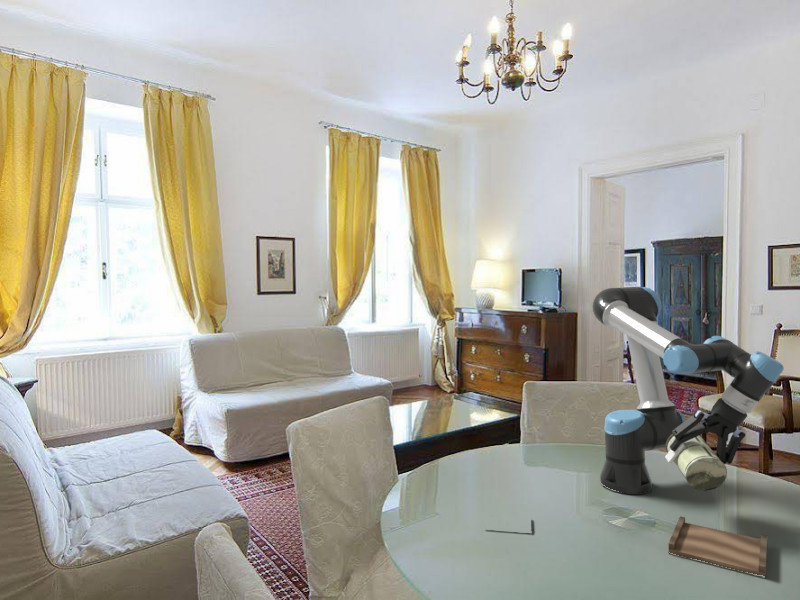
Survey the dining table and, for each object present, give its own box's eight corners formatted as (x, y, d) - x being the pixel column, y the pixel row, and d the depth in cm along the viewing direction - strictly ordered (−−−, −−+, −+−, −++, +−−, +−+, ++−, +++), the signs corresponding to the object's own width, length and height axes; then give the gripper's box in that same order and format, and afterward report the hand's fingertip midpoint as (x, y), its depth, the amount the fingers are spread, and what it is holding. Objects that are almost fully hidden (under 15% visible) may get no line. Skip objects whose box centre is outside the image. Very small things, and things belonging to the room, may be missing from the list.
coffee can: (691, 495, 138) (670, 464, 151) (731, 485, 136) (707, 454, 149) (680, 463, 135) (661, 434, 149) (721, 452, 133) (698, 424, 147)
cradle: (765, 578, 113) (765, 566, 113) (668, 553, 124) (668, 543, 124) (767, 545, 126) (767, 534, 126) (680, 525, 138) (680, 516, 138)
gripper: (703, 393, 134) (653, 458, 140) (779, 431, 134) (727, 494, 141) (690, 381, 141) (644, 443, 148) (763, 416, 141) (714, 477, 148)
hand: (684, 468), depth 144 cm, fingers closed on coffee can, 10 cm apart
